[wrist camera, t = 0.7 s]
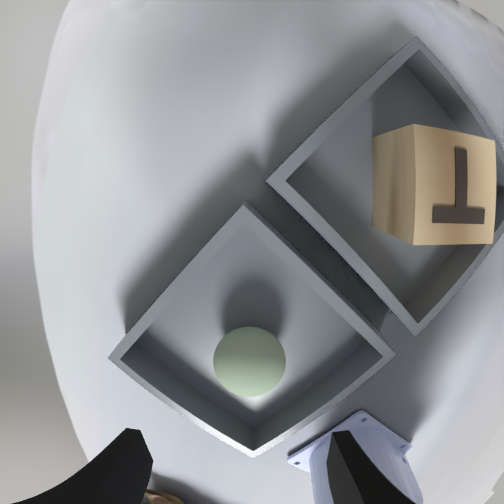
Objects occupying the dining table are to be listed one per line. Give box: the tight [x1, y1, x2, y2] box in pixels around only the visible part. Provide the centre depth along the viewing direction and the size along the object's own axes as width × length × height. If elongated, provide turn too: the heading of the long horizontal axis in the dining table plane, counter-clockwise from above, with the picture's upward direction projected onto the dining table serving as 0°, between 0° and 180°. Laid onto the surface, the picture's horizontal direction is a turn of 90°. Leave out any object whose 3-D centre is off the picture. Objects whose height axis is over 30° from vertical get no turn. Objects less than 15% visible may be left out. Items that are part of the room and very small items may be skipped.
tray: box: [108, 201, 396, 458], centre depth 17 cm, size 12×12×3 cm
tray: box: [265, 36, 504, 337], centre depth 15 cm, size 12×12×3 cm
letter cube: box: [372, 124, 496, 245], centre depth 13 cm, size 5×5×5 cm
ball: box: [213, 326, 286, 397], centre depth 16 cm, size 4×4×4 cm
